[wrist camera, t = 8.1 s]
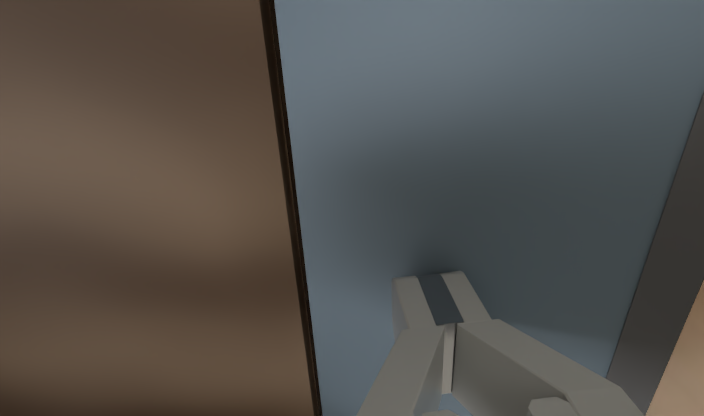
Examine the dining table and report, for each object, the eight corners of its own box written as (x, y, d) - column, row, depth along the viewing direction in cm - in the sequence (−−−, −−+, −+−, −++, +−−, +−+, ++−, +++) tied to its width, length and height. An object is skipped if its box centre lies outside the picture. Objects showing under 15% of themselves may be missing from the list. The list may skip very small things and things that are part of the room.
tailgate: (345, 449, 16) (564, 557, 13) (329, 479, 15) (562, 606, 12) (289, -231, 7) (968, -486, 4) (240, -268, 6) (1108, -661, 3)
